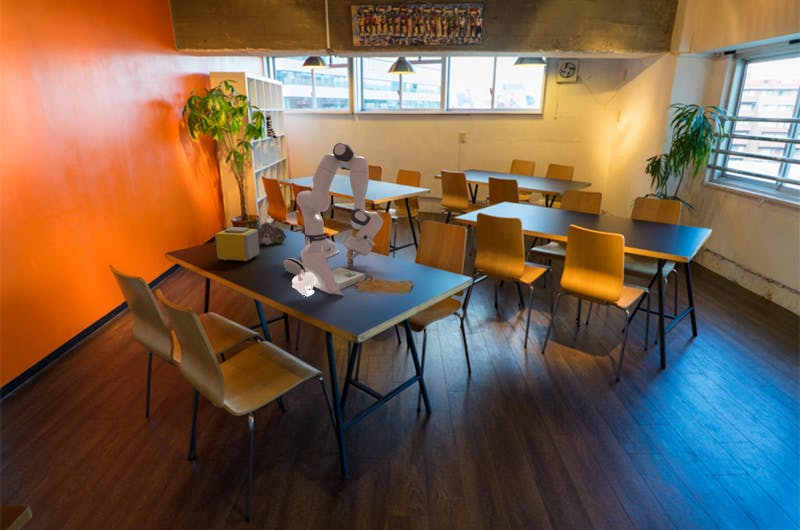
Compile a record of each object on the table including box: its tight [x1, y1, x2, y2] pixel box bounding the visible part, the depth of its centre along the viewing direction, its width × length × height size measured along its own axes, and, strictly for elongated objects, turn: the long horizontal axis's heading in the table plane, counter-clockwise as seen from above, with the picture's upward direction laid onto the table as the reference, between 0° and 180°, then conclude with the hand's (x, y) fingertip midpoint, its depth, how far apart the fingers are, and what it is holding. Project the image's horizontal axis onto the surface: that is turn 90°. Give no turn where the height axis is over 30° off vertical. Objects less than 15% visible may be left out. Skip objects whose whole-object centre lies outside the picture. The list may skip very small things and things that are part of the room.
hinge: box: [282, 257, 306, 276], centre depth 243 cm, size 17×5×10 cm, turn 46°
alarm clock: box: [214, 226, 261, 263], centre depth 267 cm, size 20×16×18 cm
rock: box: [257, 221, 287, 246], centre depth 304 cm, size 18×14×15 cm
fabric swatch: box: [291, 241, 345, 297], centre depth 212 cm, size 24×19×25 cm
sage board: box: [330, 267, 366, 290], centre depth 234 cm, size 18×18×3 cm
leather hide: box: [354, 274, 414, 295], centre depth 223 cm, size 29×26×5 cm
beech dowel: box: [346, 249, 354, 269], centre depth 253 cm, size 3×3×11 cm
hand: (349, 257), depth 253 cm, fingers closed on beech dowel, 3 cm apart
